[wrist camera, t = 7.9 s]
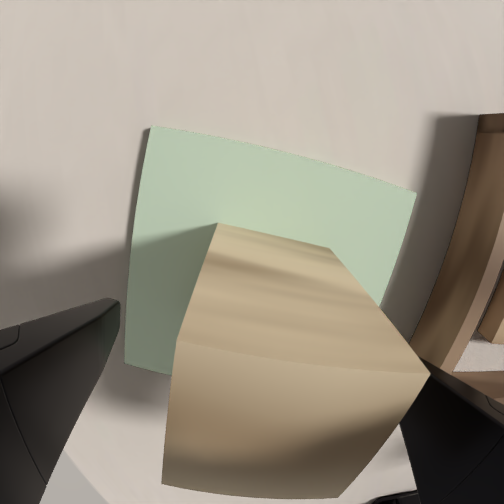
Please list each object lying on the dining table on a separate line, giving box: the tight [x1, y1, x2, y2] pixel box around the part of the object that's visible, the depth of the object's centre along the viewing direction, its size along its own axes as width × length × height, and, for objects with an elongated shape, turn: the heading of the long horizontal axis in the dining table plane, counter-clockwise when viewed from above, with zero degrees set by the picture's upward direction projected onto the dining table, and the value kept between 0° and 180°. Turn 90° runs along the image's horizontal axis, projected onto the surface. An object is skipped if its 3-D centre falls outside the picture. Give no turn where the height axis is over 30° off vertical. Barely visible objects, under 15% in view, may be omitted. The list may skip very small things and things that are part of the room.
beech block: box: [162, 223, 430, 499], centre depth 9 cm, size 4×4×8 cm
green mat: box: [124, 126, 417, 376], centre depth 13 cm, size 11×11×1 cm
